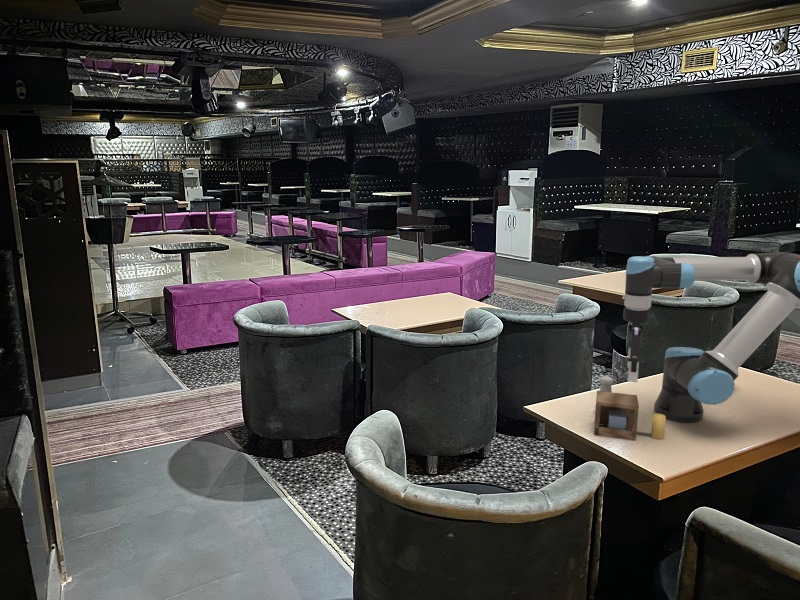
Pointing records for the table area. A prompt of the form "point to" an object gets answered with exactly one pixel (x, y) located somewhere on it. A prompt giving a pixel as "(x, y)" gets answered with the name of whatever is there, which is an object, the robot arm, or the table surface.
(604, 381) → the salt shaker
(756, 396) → the table surface
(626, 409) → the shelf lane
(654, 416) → the tethered block
